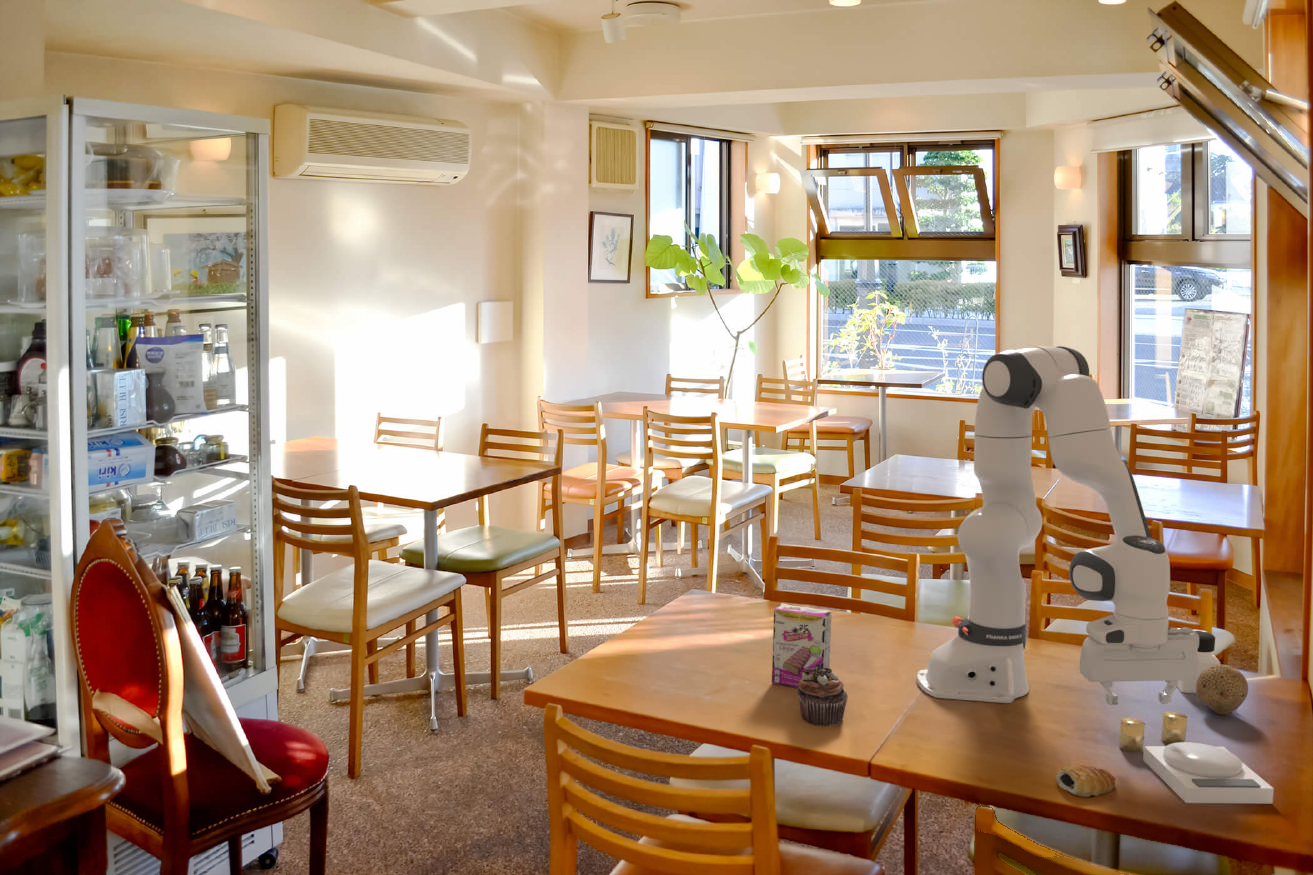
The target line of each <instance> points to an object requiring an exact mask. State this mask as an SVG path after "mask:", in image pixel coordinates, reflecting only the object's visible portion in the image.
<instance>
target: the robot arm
mask: <svg viewBox="0 0 1313 875" xmlns="http://www.w3.org/2000/svg"><path fill="white" fill-rule="evenodd" d="M981 381H982V386H983V387H982V388H981V390H980V393H979V396H978V400H977V406H976V411H975V412H976V413H975V419H974V440H973V441H974V442H973V443H974V444H973V445H974V446H973V447H974V449H973V450H974V452H973V453H974V454H973V457H974V458H973V472H974V475H975V477H976V478H977V480H978V482H979V485H980V489H981V493H982V495H981V496H982V502H983V503H982V507H978V508H977V509H975V510H973V511H971V512H970V513H969V514H968V515H967V516H966V517H965V519H964V520H963V521H962V522H961V523H960V525H959V528H958V529H957V542H958V545H959V547H960V549H961V551H962V553H963V554H964V556H965V560H966V565H967V571H968V578H969V579H968V580H969V596H968V597H969V598H968V599H969V601H968V602H969V604H968V616H967V617H966V618H964V619H962V618H961V617H960V616H959V615H956V616H955V615H954V616H953V618H951V623H952V625H953V626H954V627H955V628H957V629H958V630H957V633H958V634H957V635H955V636H953V637H952V638H951V639H950V640H948V641H946V642H945V643H943V644H942V645H940V646H938V647H937V648H935V649H933V651H932V653H931V655H930V658H929V660H928V661H929V662H928V666H927V668H926V669H920V670H918V672H917V674H916V682H917V685H918V686H919V687H920V689H921V690H922V691H924V693H926V694H928V695H930V696H932V697H933V698H937V699H951V700H963V701H973V702H975V701H976V702H977V701H978V702H986V703H987V702H989V703H998V704H999V703H1001V704H1003V703H1004V704H1011V703H1013V701H1015V699H1017V698H1020V697H1023V696H1026V695H1027V694H1028V693H1029V691H1030V686H1029V684H1028V679H1027V673H1026V666H1025V649H1026V644H1027V637H1028V635H1027V634H1028V633H1027V632H1028V631H1027V622H1025V617H1026V600H1027V585H1026V583H1025V581H1024V579H1023V577H1022V576H1023V575H1022V573H1021V566H1020V553H1021V550H1023V549H1025V548H1027V547H1029V546H1030V545H1031V544H1033V542H1034V541H1035V540H1036V539H1037V537H1038V536H1039V534H1040V532H1041V530H1042V527H1043V515H1042V513H1041V511H1040V509H1039V507H1038V505H1037V500H1036V499H1037V498H1036V495H1035V489H1034V483H1033V476H1032V475H1033V474H1032V451H1033V450H1032V446H1033V444H1032V443H1033V442H1032V440H1033V438H1032V437H1033V423H1032V422H1033V415H1034V411H1035V409H1036V408H1038V409H1039V410H1040V411H1041V412H1042V413H1043V415H1044V418H1045V422H1046V431H1047V438H1048V444H1049V452H1050V455H1051V456H1050V457H1051V459H1052V461H1053V464H1054V466H1055V469H1057V470H1058V472H1060V474H1061V475H1063V476H1064V477H1066V478H1067V479H1070V480H1071V481H1073V482H1076V483H1077V484H1081V485H1084V486H1087V487H1088V488H1091V489H1092V490H1094V491H1095V492H1097V493H1098V494H1099V495H1100V496H1101V498H1102V499H1103V501H1104V502H1105V505H1106V508H1107V511H1108V515H1109V519H1110V522H1111V525H1112V529H1113V533H1114V535H1115V542H1114V543H1111V544H1108V545H1103V546H1099V547H1092V548H1088V549H1084V550H1082V551H1079V552H1077V553H1076V554H1075V555H1074V556H1073V558H1072V559H1071V561H1070V563H1069V569H1068V570H1069V571H1068V573H1069V574H1068V576H1069V577H1068V578H1069V580H1070V583H1071V586H1072V588H1073V590H1074V591H1075V592H1076V593H1077V594H1078V595H1079V596H1080V597H1081V598H1083V599H1084V600H1088V601H1096V602H1111V603H1113V605H1114V612H1113V614H1110V615H1108V616H1105V617H1102V618H1099V619H1096V620H1092V621H1090V622H1088V623H1087V624H1086V626H1085V631H1086V634H1088V636H1087V637H1086V638H1085V639H1084V641H1083V643H1082V646H1081V650H1080V656H1079V657H1080V658H1079V659H1080V660H1079V673H1080V675H1081V676H1083V678H1084V679H1085V680H1087V681H1088V682H1090V683H1099V685H1100V686H1101V687H1102V689H1103V691H1104V693H1105V703H1106V704H1107V705H1109V706H1115V705H1118V704H1119V702H1118V699H1119V696H1118V694H1116V692H1112V691H1111V688H1112V687H1113V682H1157V681H1158V682H1159V681H1161V682H1165V683H1166V685H1165V687H1164V689H1163V691H1158V698H1157V699H1158V702H1159V703H1160V704H1161V705H1171V703H1172V696H1173V694H1174V692H1175V691H1176V690H1177V689H1178V680H1195V679H1196V678H1197V677H1198V676H1199V671H1200V670H1199V657H1198V650H1197V649H1198V647H1199V635H1198V634H1197V632H1196V631H1194V630H1195V629H1192V628H1191V627H1182V628H1181V627H1180V628H1179V627H1169V618H1170V616H1169V608H1168V603H1167V602H1168V597H1169V594H1170V589H1171V566H1170V564H1171V563H1170V558H1169V554H1168V550H1167V549H1166V546H1165V544H1163V543H1162V542H1161V541H1159V540H1157V539H1154V538H1152V535H1151V532H1150V529H1149V528H1150V527H1149V525H1148V522H1147V518H1146V515H1145V513H1144V512H1145V511H1144V508H1143V505H1142V502H1141V498H1140V494H1139V491H1138V488H1137V486H1136V482H1135V478H1134V477H1133V473H1132V471H1131V470H1130V468H1129V466H1128V464H1127V463H1126V462H1125V461H1124V460H1123V459H1122V457H1121V456H1120V454H1119V452H1118V449H1117V446H1116V444H1115V441H1114V438H1113V434H1112V430H1111V429H1112V427H1111V421H1110V416H1109V414H1108V410H1107V406H1106V403H1105V399H1104V396H1103V394H1102V391H1101V389H1100V386H1099V384H1098V382H1097V381H1096V380H1095V379H1094V378H1092V377H1090V368H1089V364H1088V361H1087V359H1086V358H1085V356H1084V355H1083V354H1082V352H1080V351H1078V350H1076V349H1074V348H1071V347H1066V346H1062V345H1061V346H1060V345H1059V346H1031V347H1028V348H1027V347H1026V348H1020V349H1016V350H1015V349H1008V350H1004V351H1000V352H997V353H995V354H993V355H992V356H991V357H989V358H988V360H986V362H985V363H984V366H983V369H982V374H981ZM1192 632H1193V633H1192Z"/></svg>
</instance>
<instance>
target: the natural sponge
mask: <svg viewBox="0 0 1313 875" xmlns="http://www.w3.org/2000/svg"><path fill="white" fill-rule="evenodd" d="M1195 694H1196V696H1197V697H1198V700H1200V702H1202V703H1203V705H1206V706H1207V707H1209V708H1210V709H1212V711H1213V712H1214V713H1216V714H1218V715H1224V716H1226V715H1229V714H1231V713H1234V712H1235V711H1236V710H1238V709H1239V707H1240V706H1241V705H1243V703H1244V701H1245V700H1246V698H1247V696H1248V694H1249V684H1248V681H1247V679H1246V677H1245V675H1243V673H1242V672H1241V671H1240V670H1238V669H1237V668H1236V667H1234V666H1231V665H1228V664H1220V665H1214V666H1212V667H1209V668H1207V669H1205V670H1204V671H1203V672H1202V673H1201V674H1200V675H1199V677H1198V679H1197V683H1196V693H1195Z"/></svg>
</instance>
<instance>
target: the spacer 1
mask: <svg viewBox="0 0 1313 875" xmlns="http://www.w3.org/2000/svg"><path fill="white" fill-rule="evenodd" d="M1119 726H1120V730H1119V740H1118V741H1119V742H1118V747H1119V749H1120V750H1121V751H1123V752H1126V753H1130V754H1140V753H1143V752H1144V744H1145V743H1144V742H1145V729H1146V723H1145V722H1144V720H1141V719H1139V718H1135V717H1123V718H1121V719H1120V725H1119Z"/></svg>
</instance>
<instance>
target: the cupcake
mask: <svg viewBox="0 0 1313 875" xmlns="http://www.w3.org/2000/svg"><path fill="white" fill-rule="evenodd" d="M823 669H824V670H826V671H823ZM796 694H797V698H798V702H799V706H800V707H799V708H800V714H801V719H802V720H803V721H804V722H806V723H808V724H811V725H813V726H817V727H818V726H819V727H830V726H836V725H839V724H841V723H842V722H843V720H844V714H845V710H846V706H847V703H848V698H849V696H848V693H847V691H845V690H844V682H843V681H842V680H841V679H839V678H838V675H837V674H836V673H834V672H833V671H832V669H831V668H830V667H829V668H822V667H821V666H820V665H816V667H815V668H814V669H812V670H805V671H804V672H803V674H802V679H801V680H800V682H799V687H798V688H797V690H796Z"/></svg>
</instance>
